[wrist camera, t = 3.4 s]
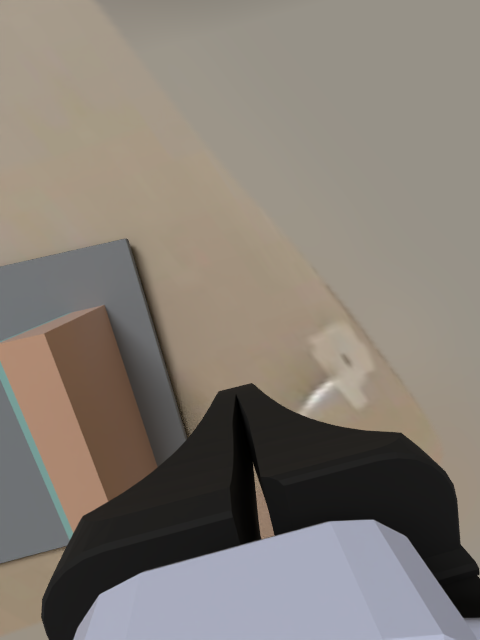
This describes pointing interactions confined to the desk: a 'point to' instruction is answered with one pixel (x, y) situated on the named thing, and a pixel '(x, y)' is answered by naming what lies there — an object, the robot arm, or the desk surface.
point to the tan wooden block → (76, 411)
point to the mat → (137, 354)
